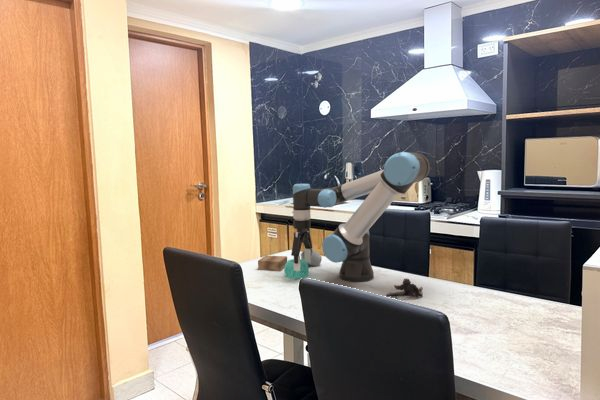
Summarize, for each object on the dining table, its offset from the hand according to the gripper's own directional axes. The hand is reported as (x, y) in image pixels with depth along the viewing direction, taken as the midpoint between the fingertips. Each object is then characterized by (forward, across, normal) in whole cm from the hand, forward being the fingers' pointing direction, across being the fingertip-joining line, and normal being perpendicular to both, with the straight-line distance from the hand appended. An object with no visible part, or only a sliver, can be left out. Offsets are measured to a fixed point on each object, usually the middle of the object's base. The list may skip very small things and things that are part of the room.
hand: (302, 266), depth 189 cm
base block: (+7, -12, -20) cm, 24 cm away
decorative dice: (+6, -1, -3) cm, 7 cm away
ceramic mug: (+6, -23, -4) cm, 24 cm away
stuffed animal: (+7, +6, +49) cm, 50 cm away
